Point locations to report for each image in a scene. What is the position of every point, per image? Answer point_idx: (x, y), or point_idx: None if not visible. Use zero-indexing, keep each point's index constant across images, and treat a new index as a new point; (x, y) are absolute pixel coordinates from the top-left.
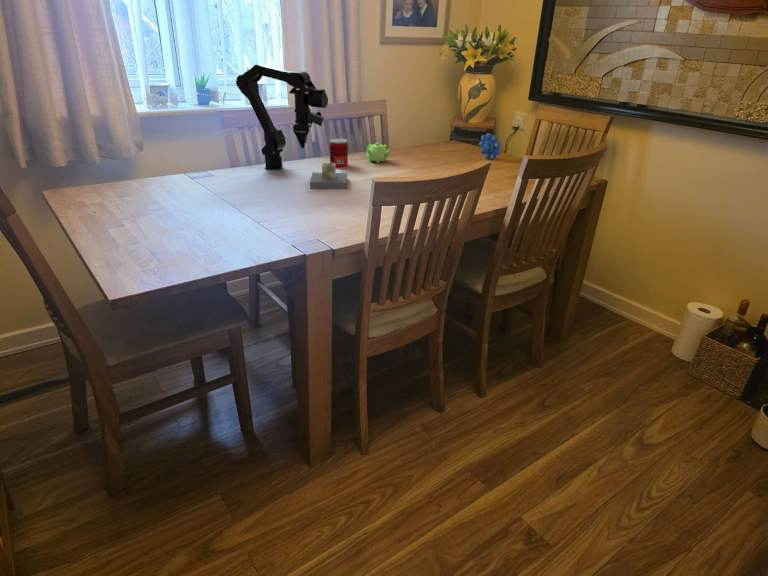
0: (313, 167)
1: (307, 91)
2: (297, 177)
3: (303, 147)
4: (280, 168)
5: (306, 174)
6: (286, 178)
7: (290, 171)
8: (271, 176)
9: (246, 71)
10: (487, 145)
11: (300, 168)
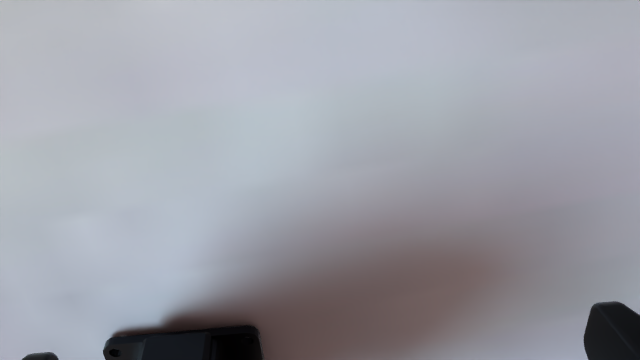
0: (35, 5)
1: None
2: (555, 120)
3: (625, 320)
4: (239, 329)
5: (422, 41)
6: (582, 214)
7: (303, 230)
8: (497, 334)
9: None
10: None
11: (146, 158)
